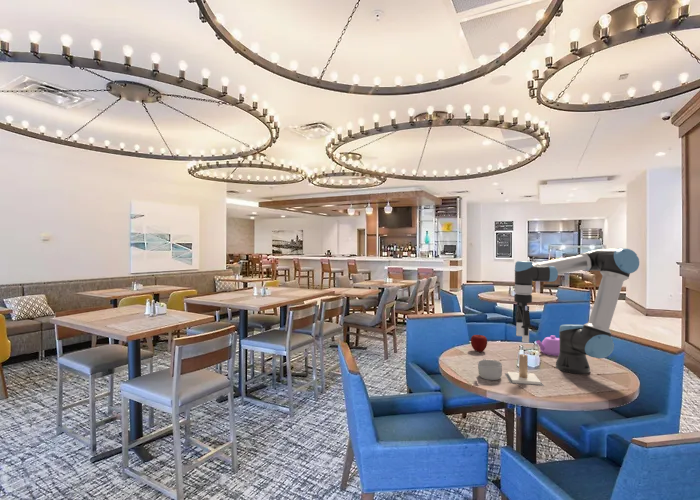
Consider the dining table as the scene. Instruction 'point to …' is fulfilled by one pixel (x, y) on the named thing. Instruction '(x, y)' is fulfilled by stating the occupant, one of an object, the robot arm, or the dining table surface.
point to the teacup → (490, 369)
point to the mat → (520, 383)
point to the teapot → (550, 345)
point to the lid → (523, 373)
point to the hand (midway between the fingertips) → (522, 339)
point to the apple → (478, 342)
